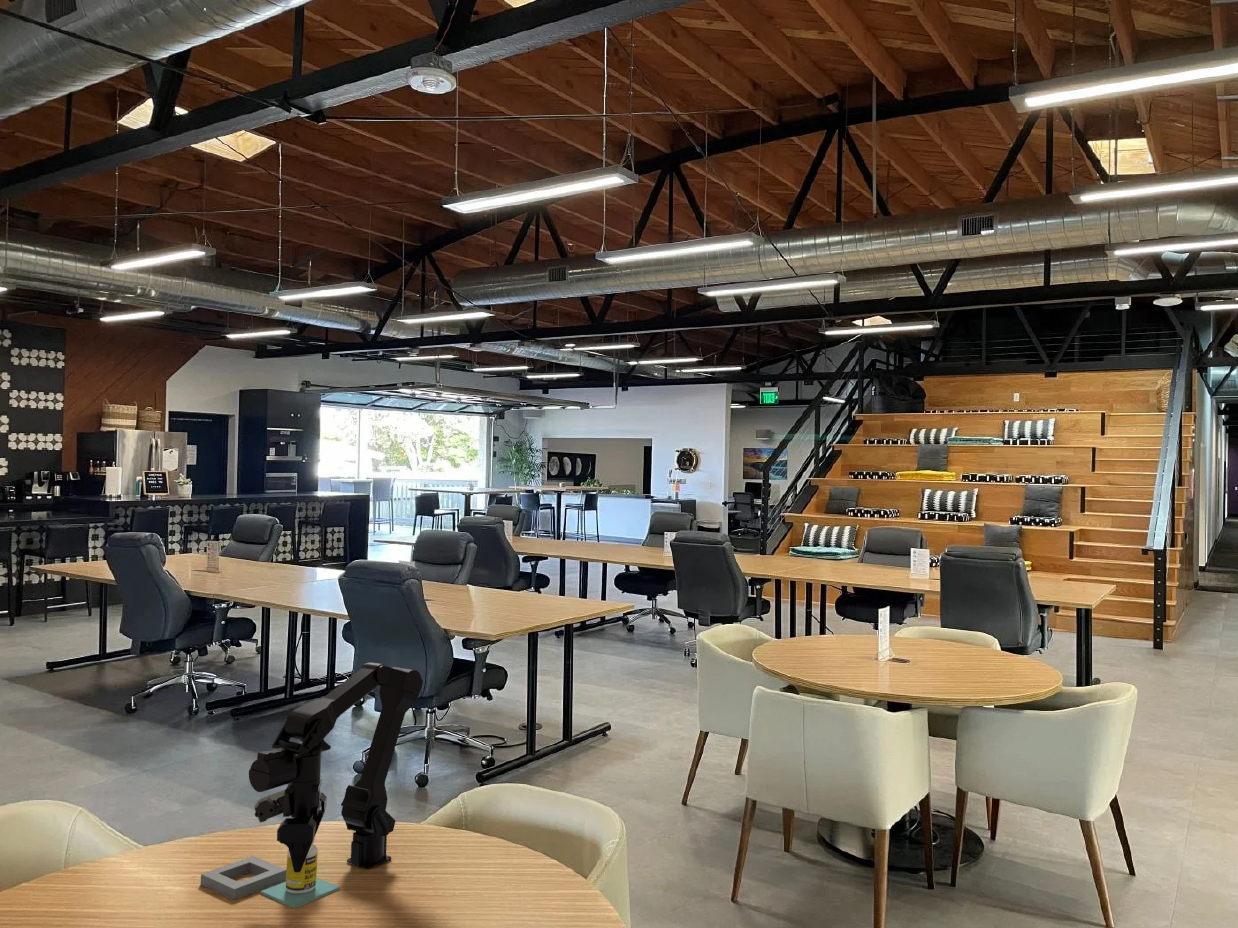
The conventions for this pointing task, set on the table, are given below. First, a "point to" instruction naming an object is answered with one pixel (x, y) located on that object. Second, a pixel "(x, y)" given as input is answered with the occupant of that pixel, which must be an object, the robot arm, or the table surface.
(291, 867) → the supplement bottle
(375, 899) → the table surface
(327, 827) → the table surface
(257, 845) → the table surface
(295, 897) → the mat
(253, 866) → the socket block
